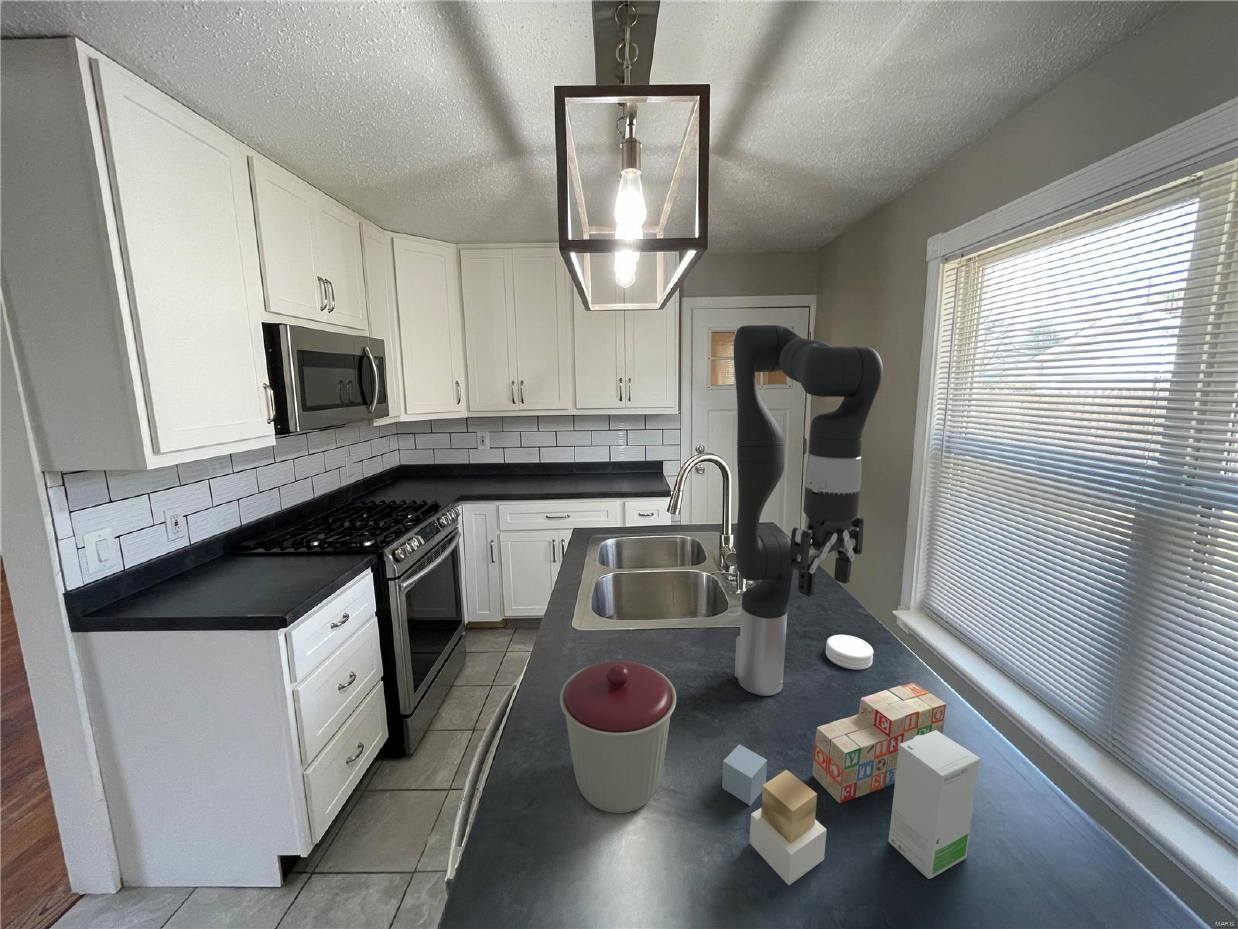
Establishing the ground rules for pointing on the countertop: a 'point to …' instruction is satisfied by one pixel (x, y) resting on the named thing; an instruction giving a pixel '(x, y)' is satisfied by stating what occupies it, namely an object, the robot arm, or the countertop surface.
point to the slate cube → (744, 774)
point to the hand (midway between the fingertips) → (824, 587)
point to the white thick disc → (849, 652)
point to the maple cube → (788, 805)
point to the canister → (618, 732)
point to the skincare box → (933, 802)
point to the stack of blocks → (873, 740)
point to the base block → (787, 848)
